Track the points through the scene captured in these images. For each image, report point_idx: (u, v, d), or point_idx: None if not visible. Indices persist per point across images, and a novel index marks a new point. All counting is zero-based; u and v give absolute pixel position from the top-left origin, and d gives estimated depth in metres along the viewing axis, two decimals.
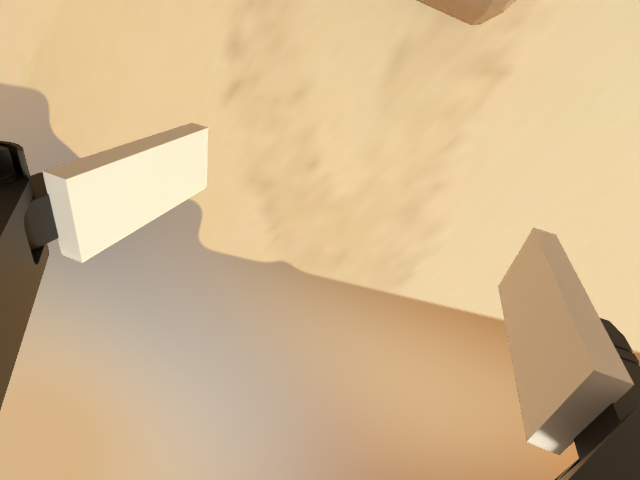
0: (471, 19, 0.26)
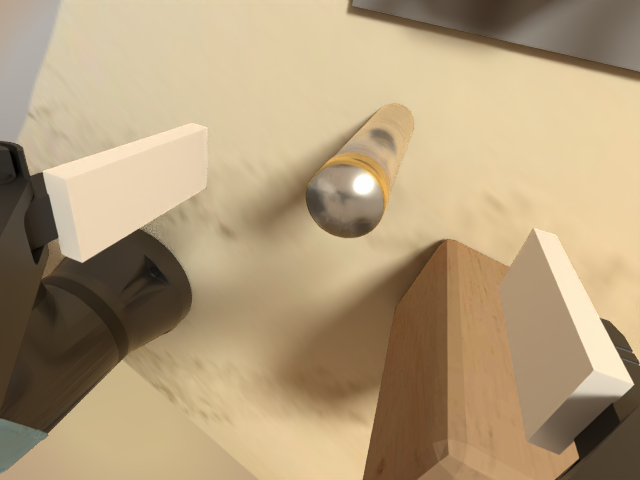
0: None
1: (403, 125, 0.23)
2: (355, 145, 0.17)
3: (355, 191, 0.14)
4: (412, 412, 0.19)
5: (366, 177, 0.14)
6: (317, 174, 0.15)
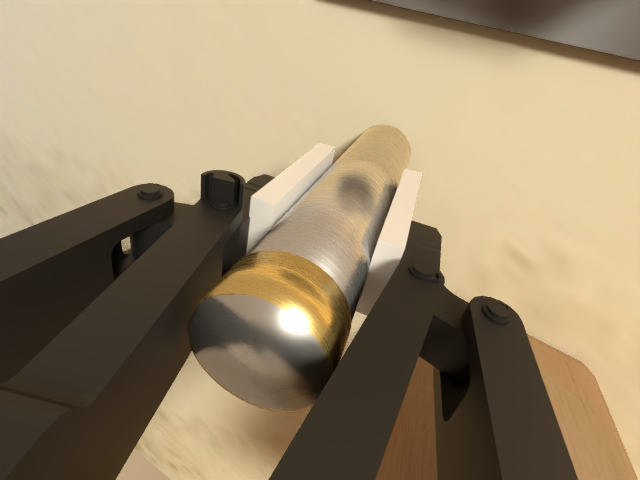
0: None
1: (392, 163, 0.16)
2: (294, 225, 0.09)
3: (274, 343, 0.07)
4: None
5: (292, 323, 0.07)
6: (200, 305, 0.07)
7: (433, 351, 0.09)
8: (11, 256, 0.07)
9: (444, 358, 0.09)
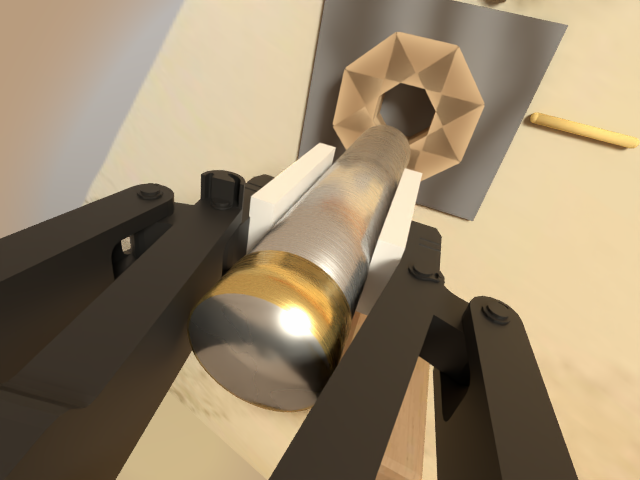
0: None
1: (392, 163, 0.16)
2: (294, 225, 0.09)
3: (274, 342, 0.07)
4: None
5: (292, 322, 0.07)
6: (200, 305, 0.07)
7: (432, 351, 0.09)
8: (11, 256, 0.07)
9: (443, 358, 0.09)
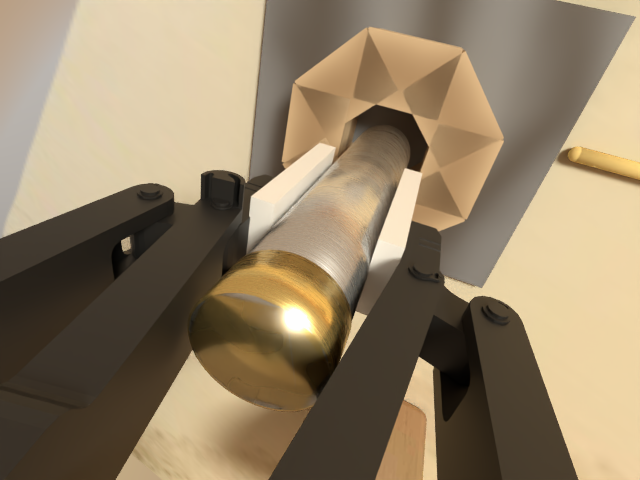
0: None
1: (392, 163, 0.16)
2: (294, 225, 0.09)
3: (274, 342, 0.07)
4: None
5: (292, 322, 0.07)
6: (200, 304, 0.07)
7: (433, 351, 0.09)
8: (11, 256, 0.07)
9: (444, 358, 0.09)
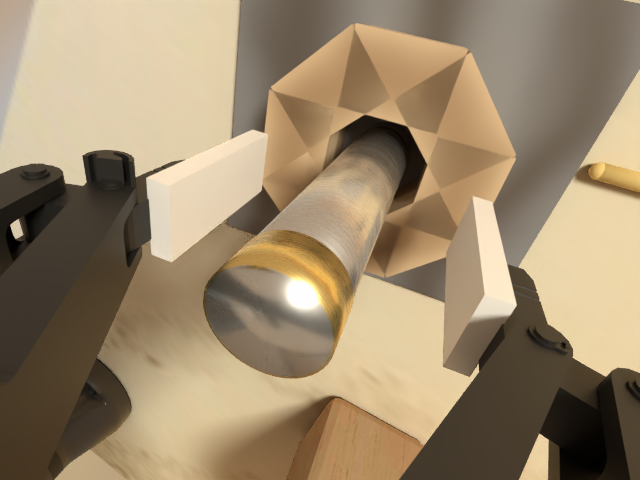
0: None
1: (393, 157, 0.16)
2: (301, 209, 0.10)
3: (283, 311, 0.08)
4: None
5: (300, 291, 0.07)
6: (216, 277, 0.08)
7: (559, 429, 0.08)
8: None
9: (574, 439, 0.08)
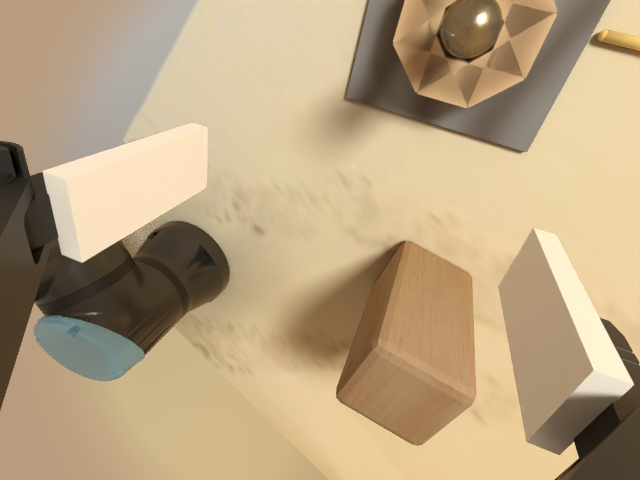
0: None
1: None
2: None
3: (481, 16, 0.21)
4: (367, 334, 0.36)
5: (491, 3, 0.20)
6: (454, 4, 0.21)
7: None
8: None
9: None
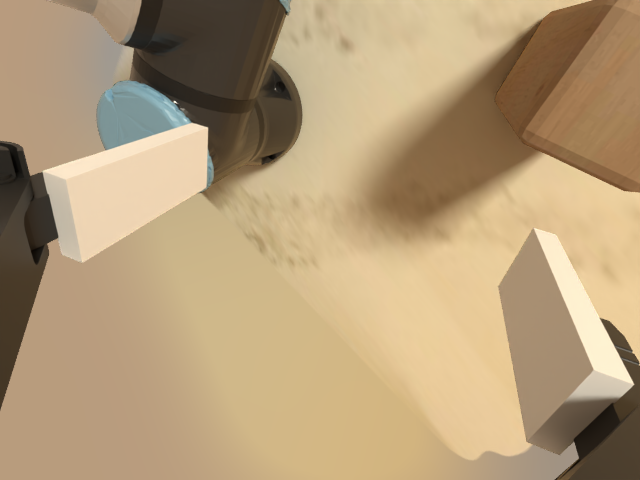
0: None
1: None
2: None
3: None
4: (566, 41, 0.26)
5: None
6: None
7: None
8: None
9: None
